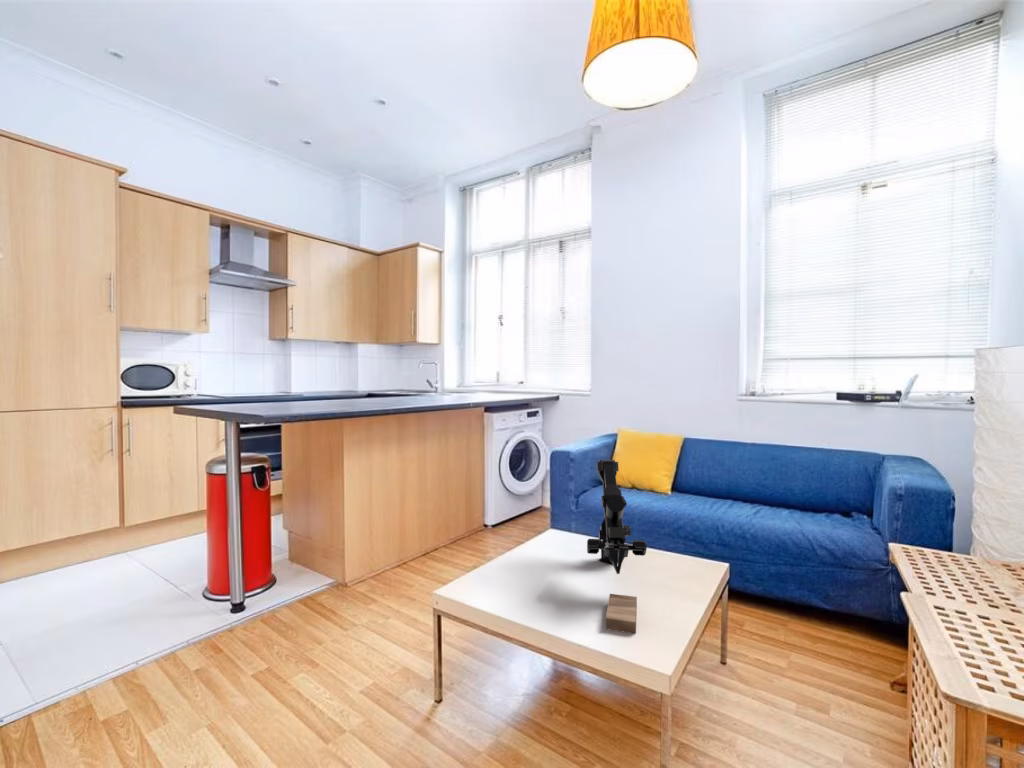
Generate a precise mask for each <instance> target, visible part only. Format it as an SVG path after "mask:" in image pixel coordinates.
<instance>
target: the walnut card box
mask: <svg viewBox="0 0 1024 768" xmlns="http://www.w3.org/2000/svg"><path fill="white" fill-rule="evenodd" d="M608 597H609V598H608V604H607V609H606V616H605V630H608V629H610V630H609V631H615V630H617V631H616V632H622V631H624V632H625V633H629V632H630V633H631V634H637V615H638V610H637V609H638V597H637V596H633V595H632V596H631V595H624V594H623V595H622V594H616V593H609V596H608ZM624 632H623V633H624Z"/></svg>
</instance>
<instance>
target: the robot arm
mask: <svg viewBox="0 0 1024 768" xmlns="http://www.w3.org/2000/svg"><path fill="white" fill-rule="evenodd" d="M619 470H620V469H619V462H618V461H615V459H599V461H597V462H596V472H598V477H599V478H600V481H601V482H602V495H601V499H600V500H601V507H602V508H603V521H602V522H601V524H600V529H599V530H598V538H588V539H587V541H586V552H587V554H591V555H593V554H594V555H597V554H598V553H599V552H600V558H599V560H598V561H599V562H602V563H606V564H610V565H612V566H613V569H614V571H615V572H616V575H620V572H621V569H622V564H623V561H624V559H625V558H628V556H629V553H630V552H629V551H632V554H633V555H635V556H642V557H643V556H646V553H647V549H648V547H647V542H646V541H645V540H641V539H640V540H639V539H638V540H636V539H633V540H632V543H625V542H626V537H630V536H631V534H632V533H631V532H632V531H631V530H632V529H631V525H630V524H629V525H628V524H624V521H623V517H624V512H625V508H626V507H627V504H628V503H627V500H626V499H625V497H624V496H623V495H622V490H621V489H620V488H619V487H618V485H617V477H616V476H617V472H619Z"/></svg>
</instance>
